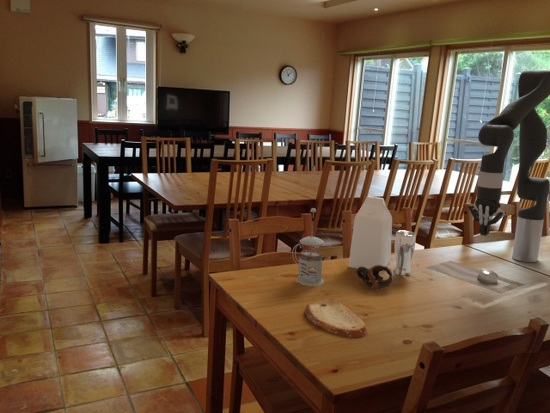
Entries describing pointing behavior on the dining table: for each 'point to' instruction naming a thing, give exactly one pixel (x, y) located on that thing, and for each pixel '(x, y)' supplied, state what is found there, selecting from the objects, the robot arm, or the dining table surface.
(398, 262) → the beer glass
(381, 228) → the milk
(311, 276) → the french press
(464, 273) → the grey flat slab
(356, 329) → the bread slice
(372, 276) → the dark brown twisted loop
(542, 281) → the dining table surface
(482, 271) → the glossy grey dome
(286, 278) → the dining table surface
